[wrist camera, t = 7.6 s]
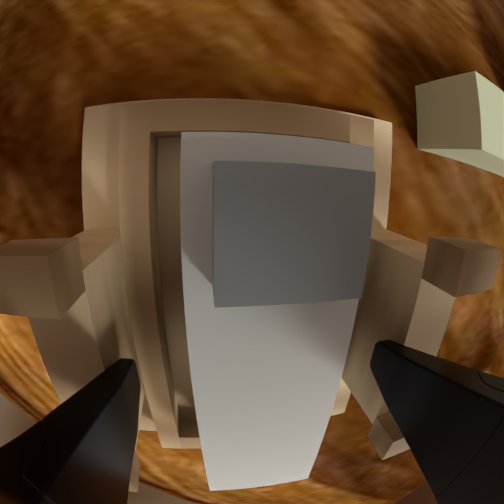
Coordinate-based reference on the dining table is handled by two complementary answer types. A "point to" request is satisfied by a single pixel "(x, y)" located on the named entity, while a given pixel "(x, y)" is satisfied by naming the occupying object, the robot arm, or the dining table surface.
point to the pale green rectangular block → (462, 120)
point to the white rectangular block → (270, 293)
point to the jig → (170, 264)
